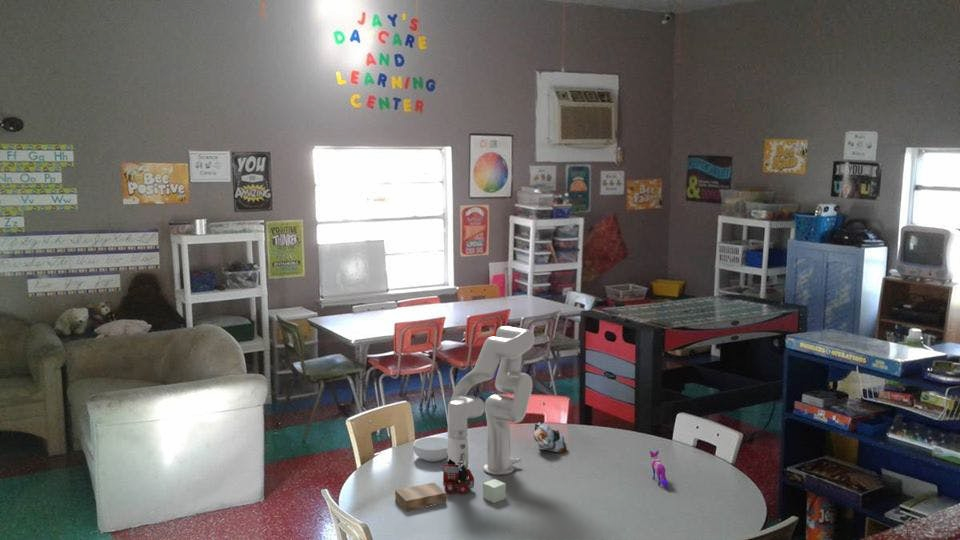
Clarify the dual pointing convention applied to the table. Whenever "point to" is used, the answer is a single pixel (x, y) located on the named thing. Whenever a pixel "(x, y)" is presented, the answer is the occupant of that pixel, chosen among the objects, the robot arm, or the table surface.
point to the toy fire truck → (456, 479)
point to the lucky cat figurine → (549, 438)
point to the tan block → (420, 496)
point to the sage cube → (494, 490)
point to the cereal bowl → (431, 448)
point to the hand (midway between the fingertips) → (456, 475)
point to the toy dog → (658, 468)
